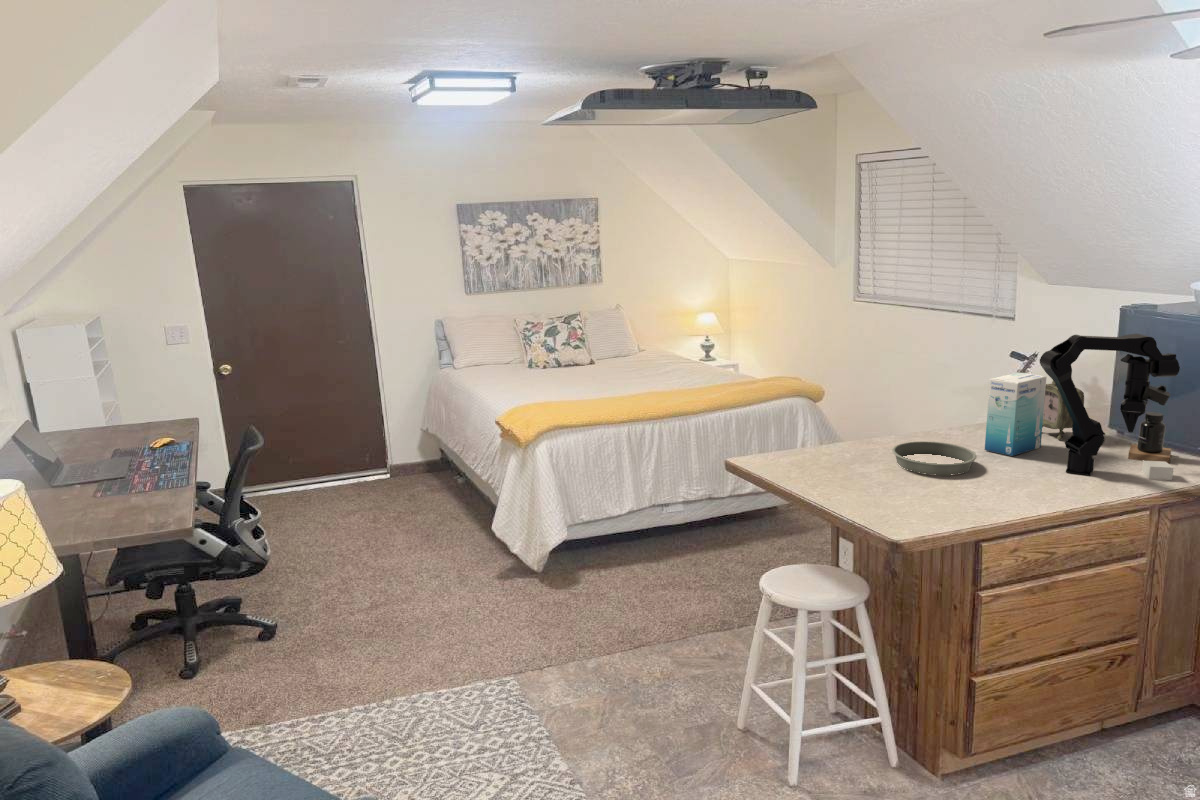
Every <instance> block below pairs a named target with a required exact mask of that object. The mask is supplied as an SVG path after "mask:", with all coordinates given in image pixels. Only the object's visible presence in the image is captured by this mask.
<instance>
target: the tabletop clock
mask: <svg viewBox="0 0 1200 800" xmlns="http://www.w3.org/2000/svg"><path fill="white" fill-rule="evenodd" d="M1076 389H1077V392H1078V394H1079V396H1080V398H1081V400H1082V403H1083V405H1084V406H1085V393H1084V392H1083V391H1082V390H1081V389H1079V388H1078V387H1076ZM1072 424H1073V422H1072V419H1071V417H1070V415H1069V412H1068V410H1067V408H1066V406H1065V404H1064V401H1063V399H1062V397H1061V395H1060V393H1059V391H1058V388H1057V386H1056V384H1055V382H1054V381H1053V380H1052V382H1051V383H1046V388H1045V400H1044V413H1043V425H1042V429H1043V428H1048V429H1050V430H1051V429H1052V430H1059V432H1058V436H1057V437H1056V439H1057V440H1058V441H1062V440H1063V436H1064V435H1065V432H1064V429H1072Z"/></svg>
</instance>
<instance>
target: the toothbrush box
mask: <svg viewBox="0 0 1200 800" xmlns="http://www.w3.org/2000/svg"><path fill="white" fill-rule="evenodd" d="M1046 384H1047V376H1044V375H1039V374H1033V373H1026V372H1014V373H1011V374H1005V375H1000V376H998V377H992V378H989V383H988V385H989V386H988V388H989V389H988V396H987V397H988V399H987V412H986V413H987V414H986V423H985V424H986V427H985V440H984V451H987V452H992V453H997V454H1000V455H1001V454H1002V455H1004V456H1005V455H1006V456H1011V457H1013V456H1018V455H1019V454H1024V453H1027V452H1030V451H1034V450H1037V449H1040V448H1041V447H1042V436H1043V435H1042V433H1043V428H1042V425H1043V413H1044V400H1045V388H1046Z"/></svg>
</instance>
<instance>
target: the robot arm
mask: <svg viewBox="0 0 1200 800" xmlns="http://www.w3.org/2000/svg"><path fill="white" fill-rule="evenodd" d="M1085 350H1087V351H1088V350H1090V351H1115V352H1116V351H1117V352H1125V353H1126V355H1125V356H1124V357H1121V359H1120V362H1122V363H1125V364H1127V367H1126V368H1127V369H1126V377H1125V382H1124V383H1125V388H1124V394H1123V400H1122V401H1121V402H1120V408H1119V409H1120V412H1121V414H1122V417H1123V420H1124V423H1125V426H1126V429H1127V431H1128V433H1134V430H1135V428H1136V425H1137V421H1138V419H1139V417H1141V416H1142V415H1144V414H1146V409H1147V405H1148V402H1149V400H1150V401H1153V402H1155V403H1158V404H1159V405H1160V406H1166V403H1167V401H1168V400H1169V399H1170V397H1171V393H1169V391H1167V387H1166V386H1164V385H1162V384H1160V385H1159V386H1157V387H1156V386H1152V385H1151V381H1150V376H1151V377H1152V378H1163V377H1166V378H1168V377H1170V378H1171V377H1174V378H1175V377H1176V376H1177V375H1178V374H1179V373H1180V367H1181V366H1180V363H1179V360H1178V359H1177V354H1175V353H1169V352H1168V353H1164V354H1163V353H1162V352H1161V351H1160V350H1159V348H1158V345H1157V341H1156V340H1155V338H1154V337H1152V336H1149V335H1144V334H1140V333H1132V334H1124V335H1121V336H1102V335H1101V336H1098V335H1079V334H1072V335H1071V336H1069V337H1068V338H1067V339H1066V340H1064V341H1063V342H1060V343H1059V344H1057V345H1055V346H1053V347H1051V349H1049V350H1047V351H1045V352H1043V353H1042V355H1041V356H1040V358H1039V364H1040V367H1041V368H1042V369H1043V371H1044V373H1046V375H1047V376H1049V378H1050V379H1051V380H1052V381H1054V382H1055V384H1056V386H1057V388H1058V391H1059V393H1060V395H1061V397H1062V399H1063V401H1064V404H1065V406H1066V408H1067V410H1068V412H1069V415H1070V417H1071V419H1072V422H1073V424H1072V428H1071V431H1072V435H1071V436H1069V438H1067V439H1066V440H1065V441H1064V446H1065V448H1066V449H1069V450H1068V455H1067V464H1066V470H1065V473H1068V474H1074V475H1075V474H1076V475H1082V476H1091V474H1092V473H1093V472H1094V471H1095V470H1094V469H1095V461H1096V460H1095V459H1096V457H1095V456H1097V455H1098V452H1099V450H1100V448H1101V447H1102V446H1103V444H1104V442H1105V436H1104V435H1106V433H1105V432H1104V430H1103V427H1102V424H1101V422H1100V421H1097V420H1095V419H1093V418H1091V417H1090V416H1089V414H1088V412H1087V410H1086V407H1085V404H1084V405H1083V403H1082V400H1081V398H1080V396H1079V394H1078V392H1077V389H1076V388H1077V386H1076V385H1075V383H1074V381H1073V377H1072V376H1073V375H1072V374H1073V369H1072V368H1073V367H1072V364H1074V362H1076V361H1077V359H1078V358H1079V357H1080V355H1081V354H1082V352H1083V351H1085ZM1132 354H1133V355H1132ZM1134 355H1137V356H1134ZM1145 357H1146V358H1145Z"/></svg>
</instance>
